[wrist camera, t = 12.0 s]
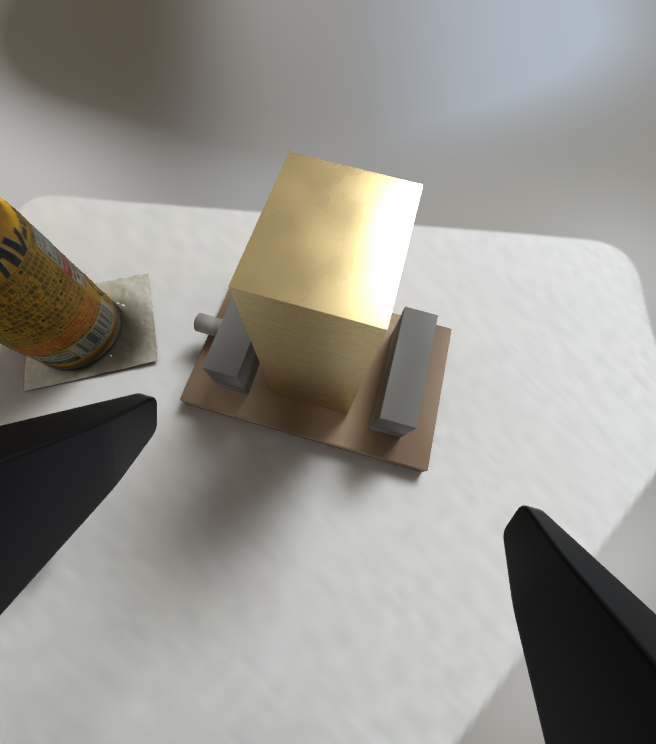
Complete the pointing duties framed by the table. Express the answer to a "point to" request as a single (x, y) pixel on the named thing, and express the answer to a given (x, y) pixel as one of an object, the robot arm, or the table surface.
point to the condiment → (67, 311)
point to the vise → (350, 432)
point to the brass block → (324, 276)
